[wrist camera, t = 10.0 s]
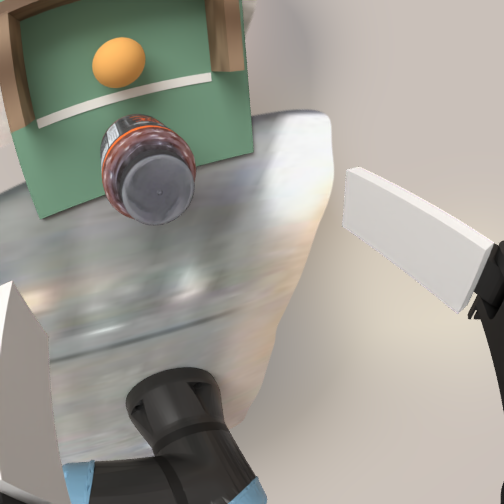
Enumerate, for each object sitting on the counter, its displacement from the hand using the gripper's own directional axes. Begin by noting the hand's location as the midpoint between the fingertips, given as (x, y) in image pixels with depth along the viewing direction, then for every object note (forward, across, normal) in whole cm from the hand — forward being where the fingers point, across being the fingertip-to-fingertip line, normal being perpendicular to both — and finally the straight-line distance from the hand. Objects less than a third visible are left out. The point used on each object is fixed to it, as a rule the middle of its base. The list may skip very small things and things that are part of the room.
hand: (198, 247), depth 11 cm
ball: (+14, 0, -7) cm, 16 cm away
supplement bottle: (+18, 0, 0) cm, 18 cm away
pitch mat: (+18, -1, -7) cm, 19 cm away
